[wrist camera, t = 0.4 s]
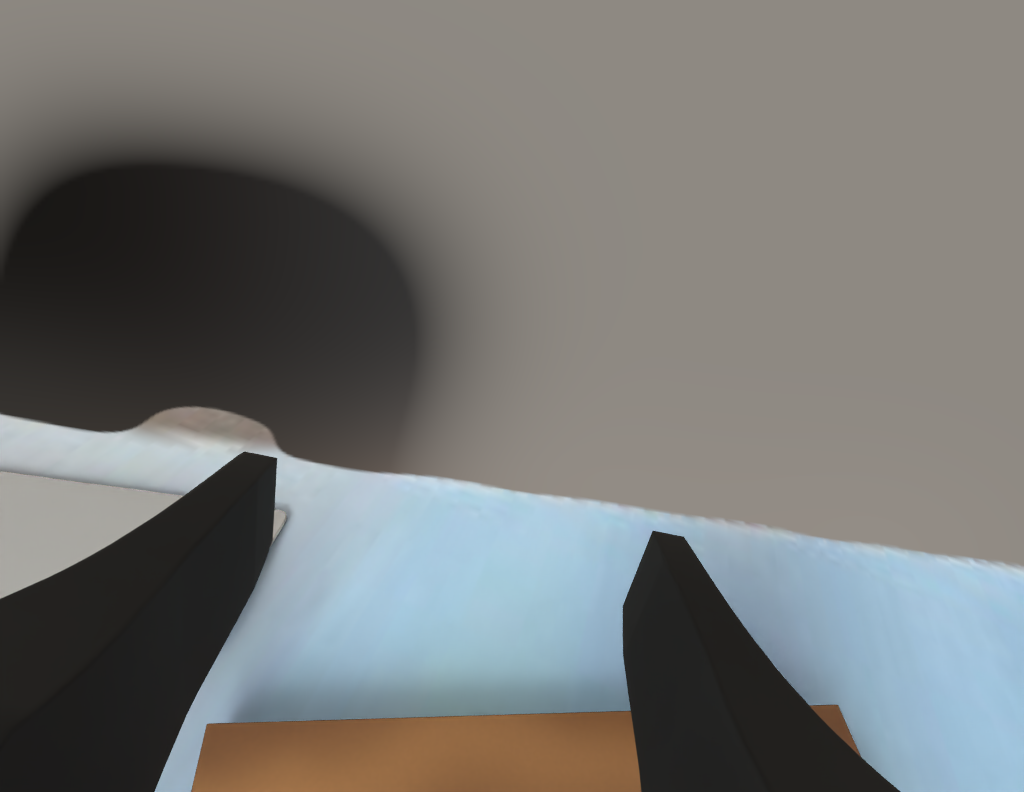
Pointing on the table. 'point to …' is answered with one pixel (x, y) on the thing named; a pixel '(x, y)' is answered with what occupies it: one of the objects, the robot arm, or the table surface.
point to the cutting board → (434, 754)
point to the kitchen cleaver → (67, 523)
